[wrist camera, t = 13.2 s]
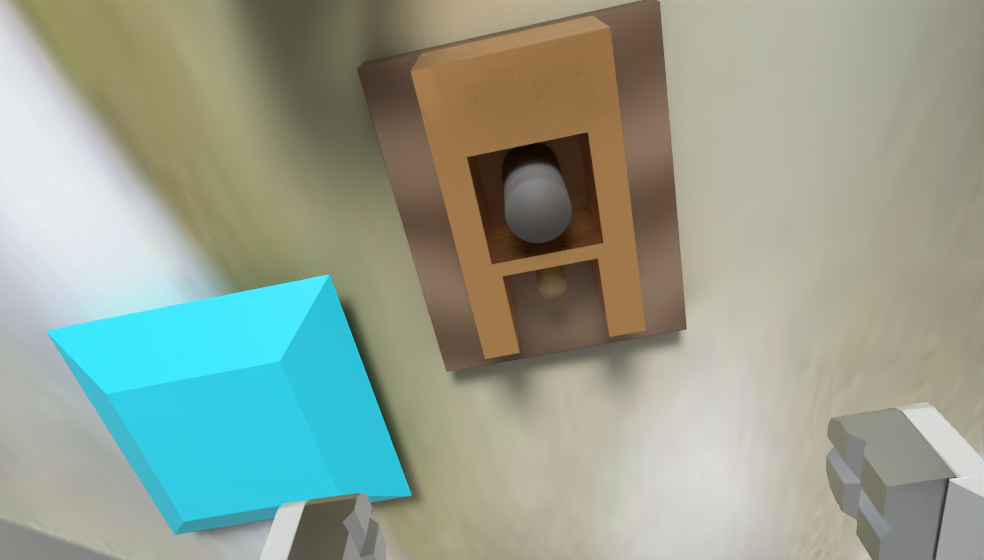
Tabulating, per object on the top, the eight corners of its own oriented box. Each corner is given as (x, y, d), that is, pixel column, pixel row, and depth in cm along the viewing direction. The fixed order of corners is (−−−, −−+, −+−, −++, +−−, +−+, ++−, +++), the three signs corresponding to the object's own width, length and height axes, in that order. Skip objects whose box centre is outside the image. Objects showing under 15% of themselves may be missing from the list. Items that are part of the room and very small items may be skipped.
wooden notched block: (421, 53, 25) (410, 71, 22) (592, 15, 25) (610, 27, 21) (485, 311, 31) (484, 359, 27) (627, 285, 30) (645, 330, 27)
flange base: (363, 62, 27) (329, 94, 21) (650, -2, 26) (697, 13, 20) (448, 354, 34) (440, 439, 28) (678, 313, 33) (719, 392, 27)
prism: (78, 305, 33) (17, 353, 29) (341, 253, 32) (317, 295, 28) (190, 507, 39) (153, 571, 35) (416, 471, 38) (406, 533, 34)
